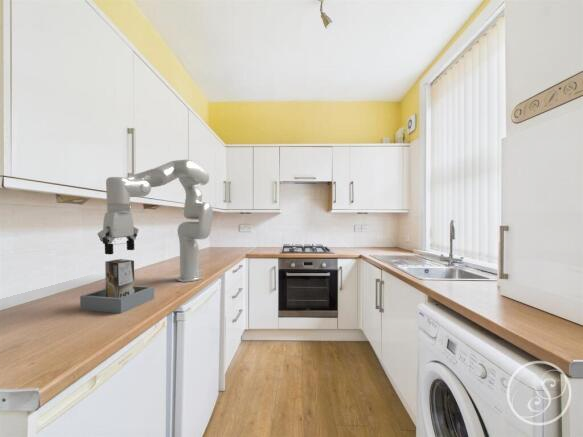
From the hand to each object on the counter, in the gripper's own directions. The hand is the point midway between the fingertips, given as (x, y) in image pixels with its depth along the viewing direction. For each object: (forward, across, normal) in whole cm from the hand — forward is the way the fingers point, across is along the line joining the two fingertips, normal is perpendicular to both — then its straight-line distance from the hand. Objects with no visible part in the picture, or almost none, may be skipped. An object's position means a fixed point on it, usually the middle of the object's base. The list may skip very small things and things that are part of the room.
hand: (120, 251), depth 99 cm
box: (+20, +1, 0) cm, 21 cm away
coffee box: (+20, +1, 0) cm, 20 cm away
